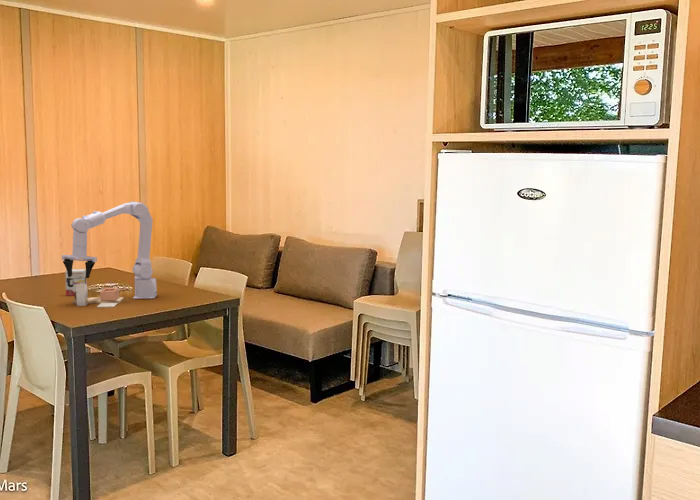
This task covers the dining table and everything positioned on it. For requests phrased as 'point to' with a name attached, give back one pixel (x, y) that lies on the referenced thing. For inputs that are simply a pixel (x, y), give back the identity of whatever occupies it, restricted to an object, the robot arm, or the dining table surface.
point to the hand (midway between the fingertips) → (78, 277)
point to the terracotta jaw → (109, 294)
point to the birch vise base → (99, 300)
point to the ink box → (74, 280)
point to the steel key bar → (81, 294)
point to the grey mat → (107, 305)
